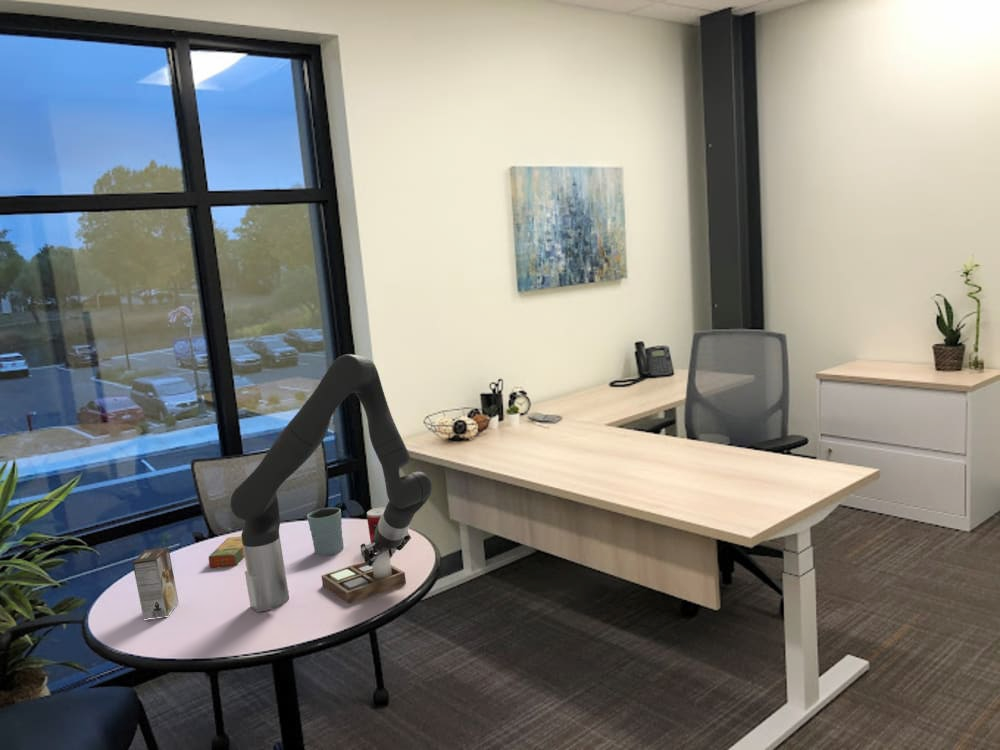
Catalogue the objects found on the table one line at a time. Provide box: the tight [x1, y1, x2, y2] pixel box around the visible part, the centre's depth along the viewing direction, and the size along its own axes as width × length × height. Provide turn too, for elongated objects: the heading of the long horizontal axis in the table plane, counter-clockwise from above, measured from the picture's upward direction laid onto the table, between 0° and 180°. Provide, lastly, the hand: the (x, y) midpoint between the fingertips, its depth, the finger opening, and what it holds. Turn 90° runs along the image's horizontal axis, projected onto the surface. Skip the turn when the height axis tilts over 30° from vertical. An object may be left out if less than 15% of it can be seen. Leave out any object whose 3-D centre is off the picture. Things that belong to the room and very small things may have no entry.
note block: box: [330, 569, 356, 582], centre depth 214 cm, size 5×5×3 cm
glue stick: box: [369, 542, 392, 581], centre depth 211 cm, size 5×5×10 cm
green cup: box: [306, 507, 344, 557], centre depth 243 cm, size 10×10×12 cm
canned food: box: [366, 506, 386, 542], centre depth 241 cm, size 8×8×11 cm
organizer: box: [320, 560, 407, 604], centre depth 213 cm, size 16×16×4 cm
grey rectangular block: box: [358, 565, 373, 573], centre depth 218 cm, size 5×4×2 cm
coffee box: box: [132, 546, 180, 620], centre depth 210 cm, size 9×6×16 cm
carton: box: [208, 535, 245, 569], centre depth 247 cm, size 8×16×4 cm, turn 178°
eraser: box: [343, 577, 368, 591], centre depth 207 cm, size 5×4×3 cm
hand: (377, 560), depth 213 cm, fingers closed on glue stick, 4 cm apart
